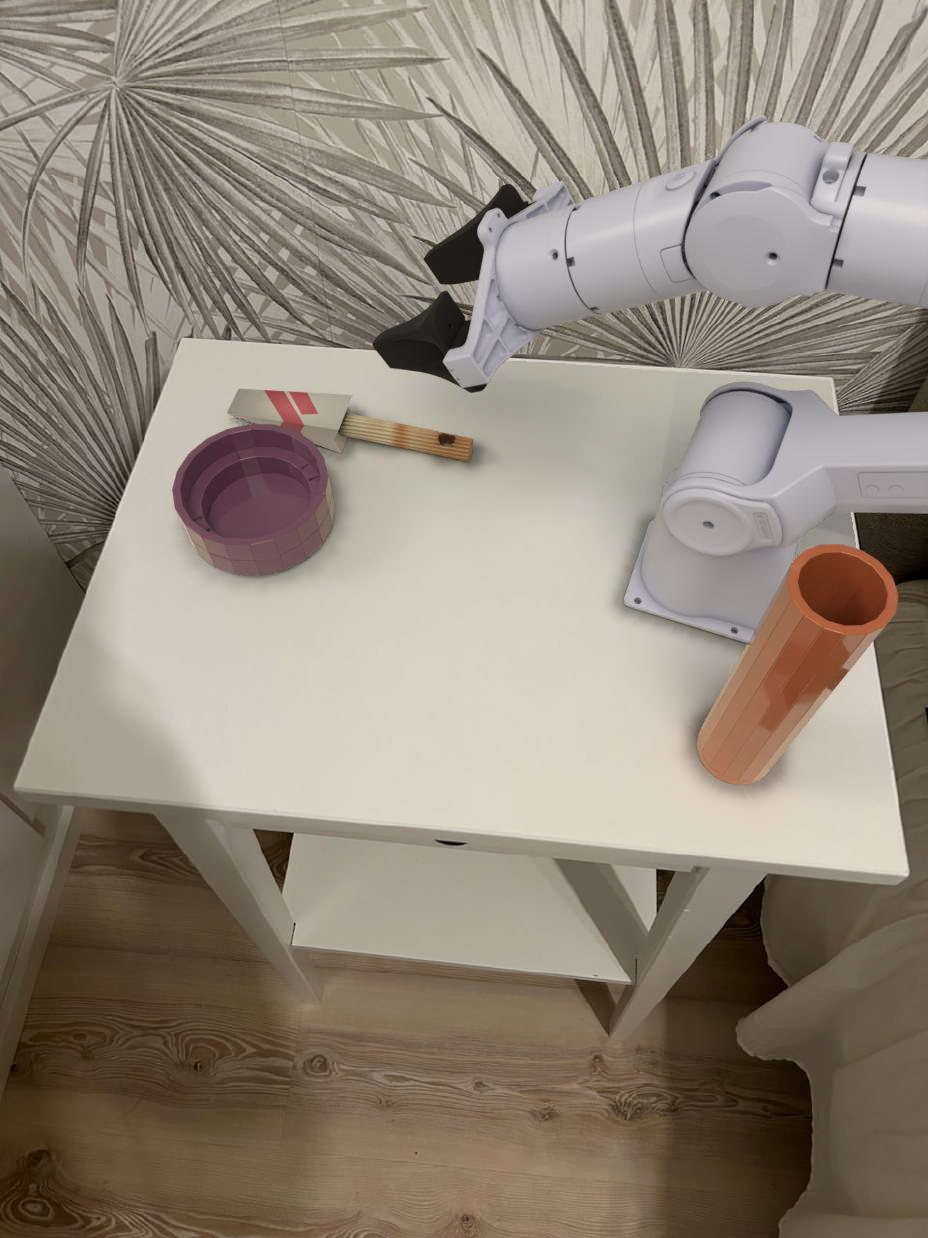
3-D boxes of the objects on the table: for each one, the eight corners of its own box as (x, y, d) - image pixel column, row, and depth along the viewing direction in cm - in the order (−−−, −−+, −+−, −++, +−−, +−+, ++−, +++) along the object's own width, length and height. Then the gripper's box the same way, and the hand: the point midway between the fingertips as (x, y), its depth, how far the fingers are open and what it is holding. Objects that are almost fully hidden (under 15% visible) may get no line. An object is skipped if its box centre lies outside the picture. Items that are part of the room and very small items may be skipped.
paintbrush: (237, 370, 72) (477, 421, 71) (243, 394, 75) (475, 444, 73) (219, 404, 71) (465, 457, 69) (226, 428, 73) (464, 480, 71)
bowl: (359, 484, 70) (352, 446, 67) (296, 598, 65) (284, 564, 61) (233, 447, 73) (219, 407, 69) (162, 554, 67) (143, 518, 63)
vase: (779, 728, 60) (904, 561, 42) (765, 796, 57) (890, 648, 40) (706, 704, 61) (798, 531, 43) (688, 770, 58) (779, 614, 41)
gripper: (606, 105, 47) (420, 180, 56) (506, 291, 41) (316, 342, 50) (658, 217, 52) (478, 270, 61) (575, 400, 46) (389, 429, 55)
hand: (409, 309), depth 56 cm, fingers open, 7 cm apart
